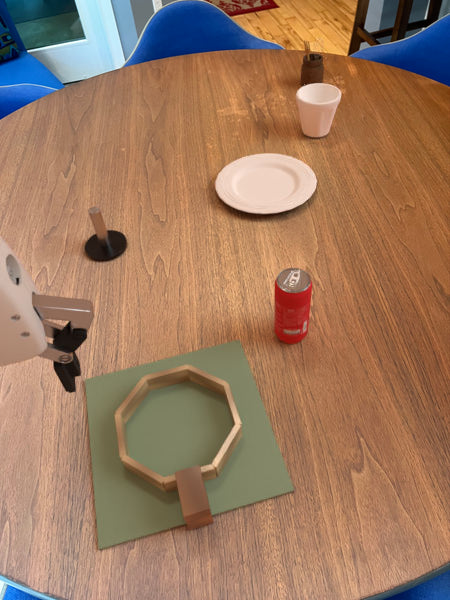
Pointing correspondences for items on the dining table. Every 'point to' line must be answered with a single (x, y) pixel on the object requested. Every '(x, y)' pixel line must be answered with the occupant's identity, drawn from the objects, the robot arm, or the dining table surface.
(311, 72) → the utensil holder
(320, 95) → the cup
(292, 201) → the plate
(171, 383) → the hoop
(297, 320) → the beverage can
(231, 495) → the mat
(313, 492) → the dining table surface
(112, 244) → the post stand
